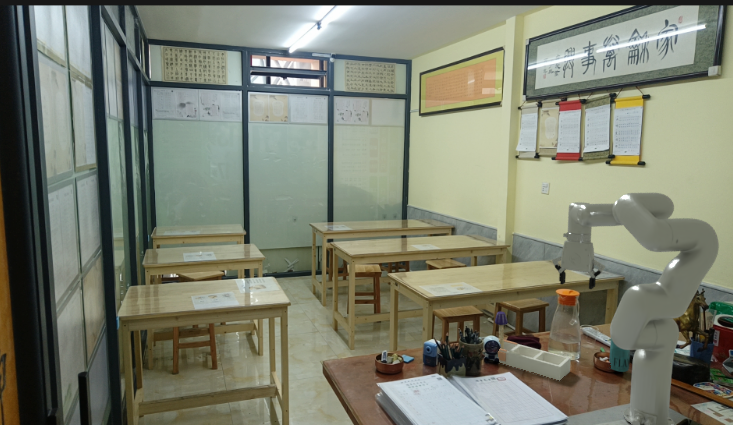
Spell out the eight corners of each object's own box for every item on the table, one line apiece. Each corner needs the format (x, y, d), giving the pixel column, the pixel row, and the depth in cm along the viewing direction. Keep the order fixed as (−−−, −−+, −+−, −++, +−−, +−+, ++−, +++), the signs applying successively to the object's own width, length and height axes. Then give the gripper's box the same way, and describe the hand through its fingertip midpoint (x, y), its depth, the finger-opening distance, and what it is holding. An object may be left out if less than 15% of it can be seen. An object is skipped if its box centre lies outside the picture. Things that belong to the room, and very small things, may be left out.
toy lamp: (498, 358, 177) (499, 315, 175) (491, 353, 181) (492, 311, 180) (509, 357, 178) (510, 313, 176) (502, 352, 183) (503, 310, 181)
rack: (559, 381, 160) (559, 366, 160) (483, 359, 179) (483, 345, 178) (569, 371, 168) (570, 357, 168) (496, 350, 187) (496, 337, 186)
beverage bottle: (610, 374, 166) (613, 319, 164) (606, 367, 172) (609, 313, 170) (631, 377, 164) (634, 320, 162) (626, 369, 170) (630, 314, 168)
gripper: (550, 236, 168) (548, 284, 170) (602, 242, 157) (599, 292, 159) (557, 234, 174) (555, 280, 176) (609, 239, 163) (606, 288, 164)
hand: (576, 286), depth 167 cm, fingers open, 9 cm apart
